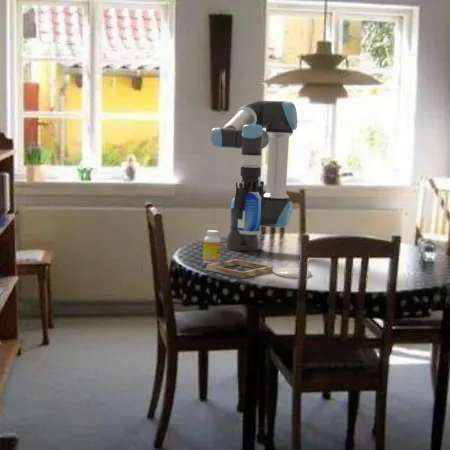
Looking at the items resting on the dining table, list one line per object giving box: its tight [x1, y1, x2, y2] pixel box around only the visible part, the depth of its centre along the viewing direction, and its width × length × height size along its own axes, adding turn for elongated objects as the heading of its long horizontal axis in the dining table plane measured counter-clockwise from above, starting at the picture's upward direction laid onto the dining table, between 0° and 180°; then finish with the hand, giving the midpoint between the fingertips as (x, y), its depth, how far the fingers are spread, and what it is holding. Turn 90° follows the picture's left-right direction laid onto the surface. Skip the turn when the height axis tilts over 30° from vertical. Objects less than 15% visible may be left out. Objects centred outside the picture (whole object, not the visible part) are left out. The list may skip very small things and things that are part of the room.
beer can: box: [238, 190, 261, 235], centre depth 299 cm, size 8×8×16 cm
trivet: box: [273, 267, 312, 279], centre depth 299 cm, size 14×14×1 cm
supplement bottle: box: [202, 229, 222, 265], centre depth 314 cm, size 7×7×13 cm
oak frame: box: [205, 258, 274, 279], centre depth 302 cm, size 18×18×2 cm
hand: (248, 226), depth 299 cm, fingers closed on beer can, 7 cm apart
